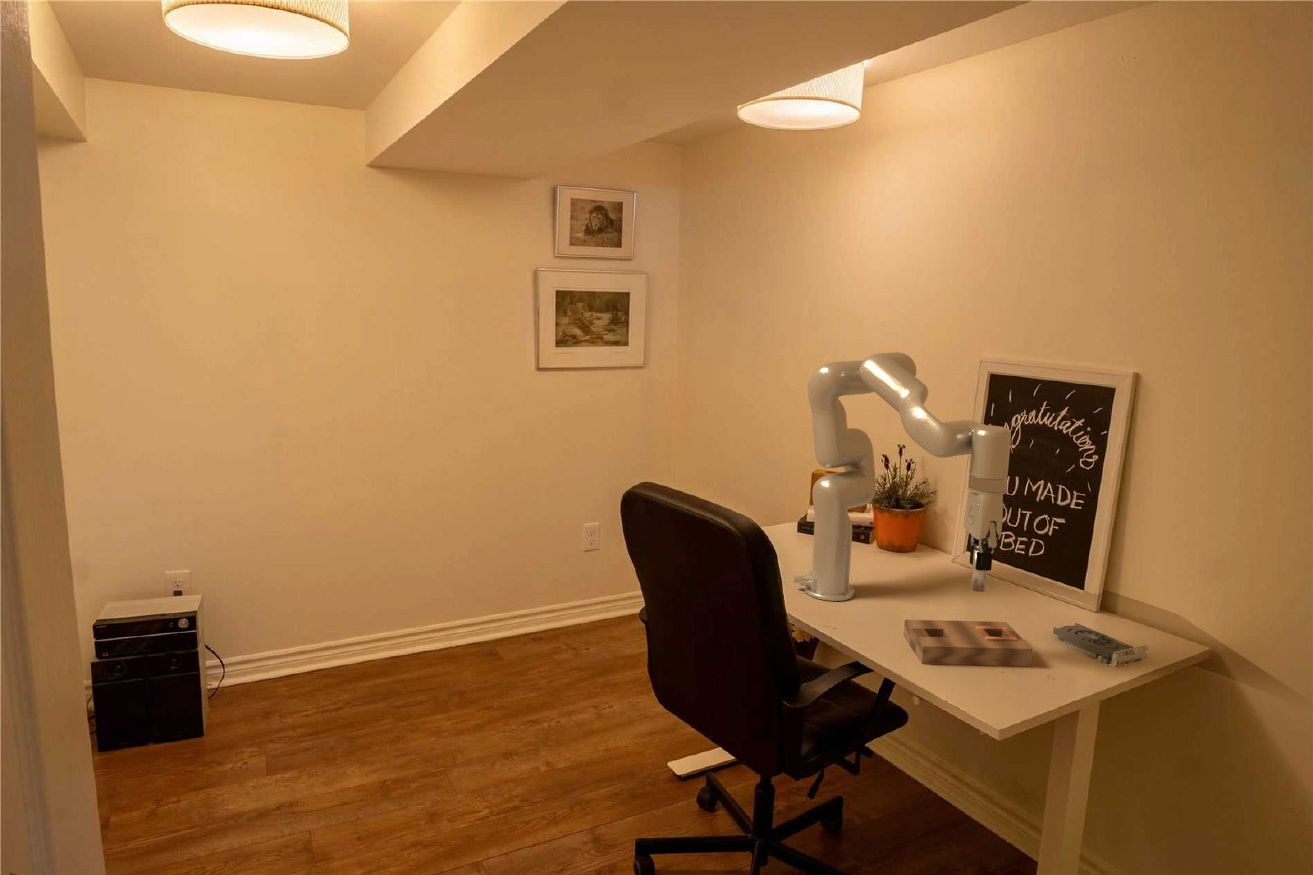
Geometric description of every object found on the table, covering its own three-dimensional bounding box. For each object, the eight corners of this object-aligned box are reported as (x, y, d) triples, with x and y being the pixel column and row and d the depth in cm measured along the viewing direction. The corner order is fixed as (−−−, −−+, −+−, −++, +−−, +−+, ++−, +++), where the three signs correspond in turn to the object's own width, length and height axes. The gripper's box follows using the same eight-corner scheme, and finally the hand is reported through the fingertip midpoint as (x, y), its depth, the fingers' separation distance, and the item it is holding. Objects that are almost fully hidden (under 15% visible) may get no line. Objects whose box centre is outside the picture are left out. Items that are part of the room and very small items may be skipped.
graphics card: (1153, 646, 179) (1116, 654, 174) (1151, 662, 180) (1114, 671, 175) (1085, 618, 194) (1049, 625, 189) (1083, 633, 195) (1047, 640, 190)
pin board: (921, 663, 176) (923, 644, 175) (903, 636, 189) (904, 617, 188) (1030, 666, 175) (1032, 647, 174) (1004, 638, 189) (1006, 620, 188)
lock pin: (973, 591, 178) (977, 547, 176) (968, 586, 181) (972, 542, 179) (987, 592, 178) (991, 547, 176) (982, 587, 181) (986, 543, 179)
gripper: (957, 475, 183) (950, 554, 187) (982, 493, 167) (975, 580, 170) (991, 476, 183) (984, 555, 186) (1020, 494, 167) (1012, 580, 170)
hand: (980, 566), depth 178 cm, fingers closed on lock pin, 3 cm apart
